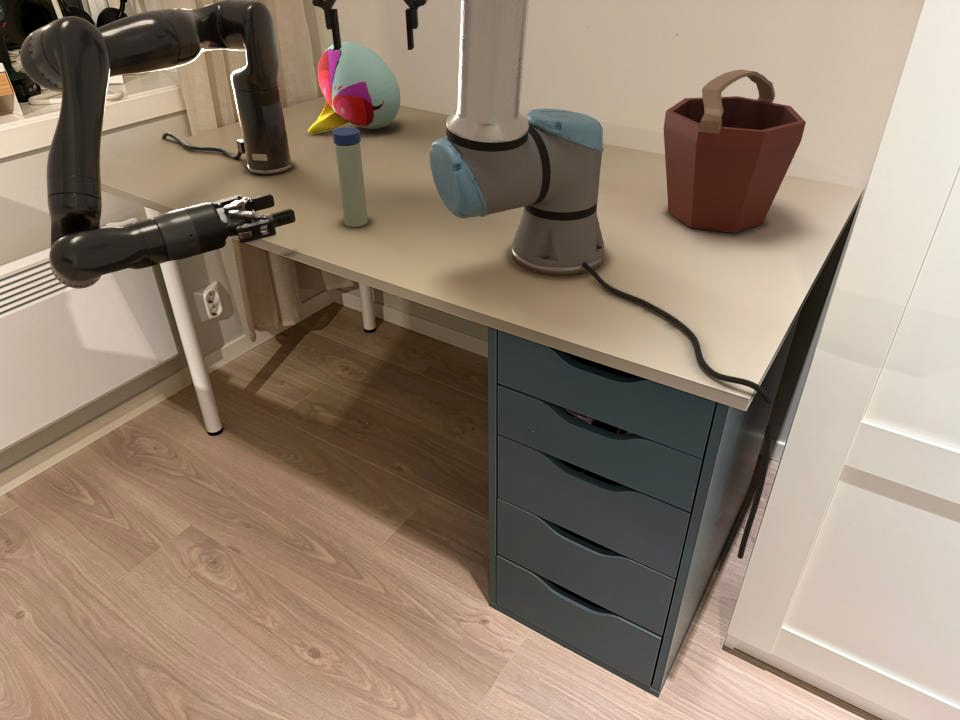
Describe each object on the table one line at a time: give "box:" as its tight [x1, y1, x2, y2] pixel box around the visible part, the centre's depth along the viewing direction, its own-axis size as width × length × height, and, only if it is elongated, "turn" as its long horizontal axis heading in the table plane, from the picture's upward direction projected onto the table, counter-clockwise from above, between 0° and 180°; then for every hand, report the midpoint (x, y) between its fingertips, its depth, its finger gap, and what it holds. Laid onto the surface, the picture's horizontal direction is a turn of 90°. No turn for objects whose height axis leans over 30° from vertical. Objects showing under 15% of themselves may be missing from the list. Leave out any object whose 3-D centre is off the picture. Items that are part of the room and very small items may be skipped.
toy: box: [307, 41, 401, 134], centre depth 176 cm, size 24×24×20 cm
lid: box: [331, 127, 362, 145], centre depth 121 cm, size 5×5×2 cm
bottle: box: [334, 141, 369, 228], centre depth 126 cm, size 4×4×16 cm
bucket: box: [663, 69, 807, 234], centre depth 125 cm, size 24×22×25 cm
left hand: (283, 207), depth 120 cm, fingers open, 8 cm apart
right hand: (374, 49), depth 129 cm, fingers open, 13 cm apart
